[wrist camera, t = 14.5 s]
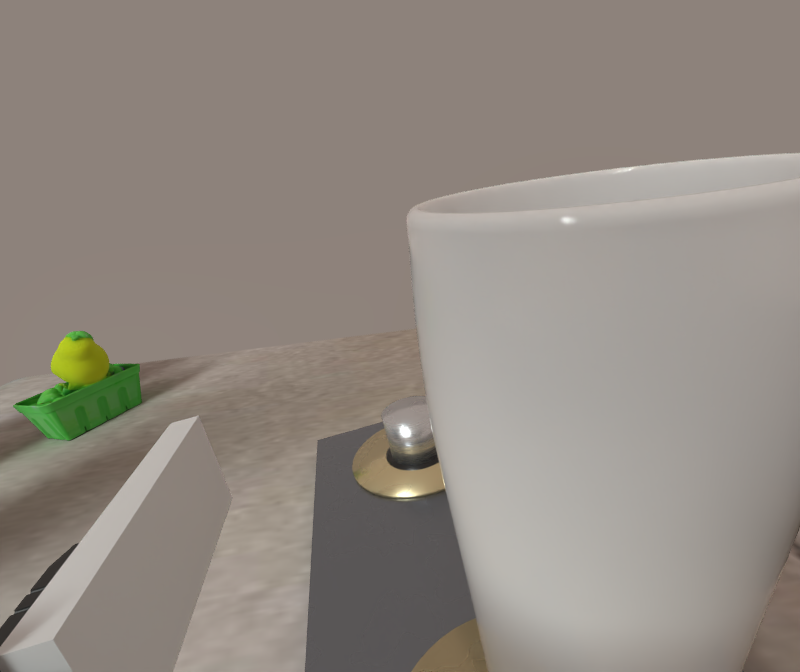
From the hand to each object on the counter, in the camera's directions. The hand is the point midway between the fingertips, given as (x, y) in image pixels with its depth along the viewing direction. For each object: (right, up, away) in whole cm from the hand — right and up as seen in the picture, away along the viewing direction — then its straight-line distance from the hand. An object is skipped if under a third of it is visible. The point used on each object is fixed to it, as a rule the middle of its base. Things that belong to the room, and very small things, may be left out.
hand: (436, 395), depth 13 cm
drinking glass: (+4, -10, 0) cm, 11 cm away
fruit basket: (-38, -9, +41) cm, 56 cm away
